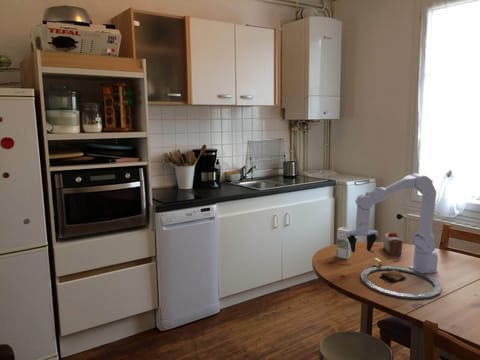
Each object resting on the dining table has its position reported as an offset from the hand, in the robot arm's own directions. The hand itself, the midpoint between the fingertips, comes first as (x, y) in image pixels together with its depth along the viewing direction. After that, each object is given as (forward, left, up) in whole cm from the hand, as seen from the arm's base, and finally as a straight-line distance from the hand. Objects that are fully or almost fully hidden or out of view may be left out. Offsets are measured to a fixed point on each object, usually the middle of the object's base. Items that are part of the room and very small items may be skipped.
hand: (360, 251), depth 178 cm
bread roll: (-9, +12, -9) cm, 18 cm away
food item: (-28, -19, -9) cm, 36 cm away
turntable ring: (-10, +14, -8) cm, 19 cm away
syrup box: (0, -15, -9) cm, 18 cm away
